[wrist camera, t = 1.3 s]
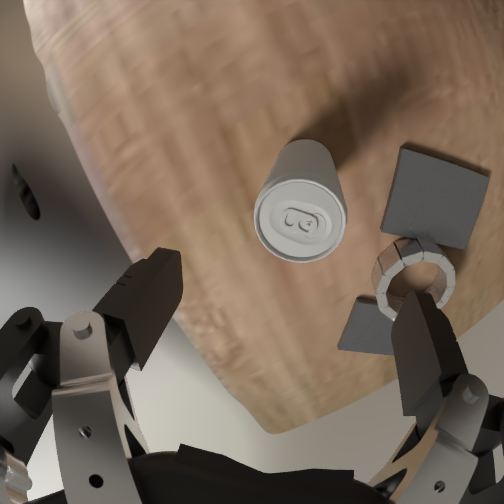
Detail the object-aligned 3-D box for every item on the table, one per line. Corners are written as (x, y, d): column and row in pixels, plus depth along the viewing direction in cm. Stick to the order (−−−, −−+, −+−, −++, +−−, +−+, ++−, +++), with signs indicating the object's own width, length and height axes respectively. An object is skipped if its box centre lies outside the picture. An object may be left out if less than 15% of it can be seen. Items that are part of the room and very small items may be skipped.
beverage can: (322, 197, 25) (327, 276, 15) (271, 180, 25) (241, 248, 15) (340, 148, 23) (364, 196, 13) (286, 130, 23) (265, 161, 13)
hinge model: (400, 146, 21) (410, 154, 19) (485, 175, 20) (501, 185, 18) (337, 344, 34) (337, 363, 32) (405, 351, 33) (409, 369, 31)
